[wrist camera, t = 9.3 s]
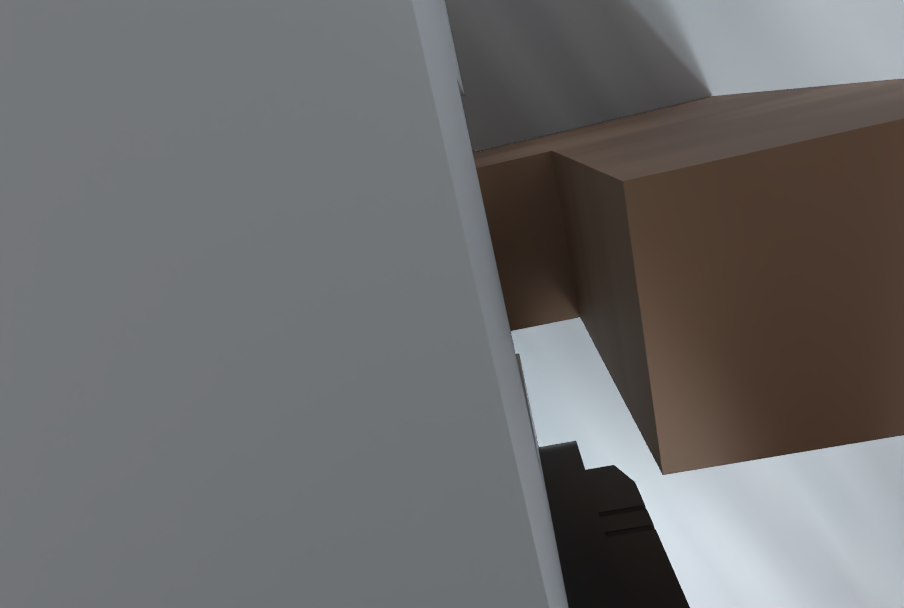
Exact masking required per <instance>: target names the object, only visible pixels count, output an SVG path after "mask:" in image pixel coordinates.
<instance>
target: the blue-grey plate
mask: <svg viewBox="0 0 904 608" xmlns="http://www.w3.org/2000/svg"><path fill="white" fill-rule="evenodd" d="M461 96H464V90H463V85H462V80H461V76H460V71H459V66H458V61H457V57H456V52H455V47H454V42H453V38H452V33H451V28H450V23H449V19H448V14H447V9H446V4H445V0H0V608H569V607H568V602H567V597H566V591H565V586H564V581H563V576H562V571H561V565H560V560H559V555H558V550H557V544H556V539H555V534H554V529H553V523H552V518H551V513H550V508H549V502H548V497H547V492H546V487H545V481H544V476H543V471H542V466H541V460H540V455H539V450H538V447H539V446H538V441H537V436H536V432H535V427H534V422H533V417H532V413H531V408H530V403H529V398H528V394H527V389H526V384H525V379H524V375H523V370H522V365H521V360H520V356H519V354H515V350H514V345H513V340H512V336H511V331H510V326H509V321H508V317H507V312H506V307H505V303H504V298H503V293H502V289H501V284H500V279H499V274H498V270H497V265H496V260H495V256H494V251H493V246H492V242H491V237H490V232H489V228H488V223H487V218H486V213H485V209H484V204H483V199H482V195H481V190H480V185H479V181H478V176H477V171H476V166H475V162H474V157H473V152H472V148H471V143H470V138H469V134H468V129H467V124H466V119H465V115H464V110H463V105H462V101H461Z"/></svg>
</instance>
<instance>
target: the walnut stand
mask: <svg viewBox="0 0 904 608" xmlns="http://www.w3.org/2000/svg"><path fill="white" fill-rule="evenodd" d="M473 157H474V162H475V166H476V171H477V176H478V181H479V185H480V190H481V195H482V199H483V204H484V209H485V213H486V218H487V223H488V228H489V232H490V237H491V242H492V246H493V251H494V256H495V260H496V265H497V270H498V274H499V279H500V284H501V289H502V293H503V298H504V303H505V307H506V312H507V317H508V321H509V326H510V331H513V330H518V329H523V328H528V327H533V326H538V325H543V324H548V323H553V322H558V321H563V320H568V319H573V318H578V317H580V318H581V319H582V321H583V323H584V325H585V327H586V329H587V331H588V333H589V335H590V337H591V339H592V341H593V342H594V344H595V346H596V348H597V350H598V352H599V354H600V356H601V358H602V360H603V362H604V363H605V365H606V367H607V369H608V371H609V373H610V375H611V377H612V379H613V381H614V383H615V384H616V386H617V388H618V390H619V392H620V394H621V396H622V398H623V400H624V402H625V404H626V405H627V407H628V409H629V411H630V413H631V415H632V417H633V419H634V421H635V423H636V425H637V427H638V428H639V430H640V432H641V434H642V436H643V438H644V440H645V442H646V444H647V446H648V448H649V449H650V451H651V453H652V455H653V457H654V459H655V461H656V463H657V465H658V467H659V469H660V470H661V472H662V474H663V475H666V474H672V473H678V472H684V471H690V470H696V469H702V468H708V467H714V466H720V465H726V464H732V463H738V462H744V461H750V460H756V459H762V458H768V457H774V456H780V455H786V454H792V453H798V452H804V451H810V450H816V449H822V448H828V447H834V446H840V445H846V444H852V443H858V442H864V441H870V440H876V439H882V438H889V437H895V436H901V435H904V79H894V80H884V81H873V82H862V83H851V84H840V85H829V86H819V87H808V88H797V89H786V90H775V91H764V92H754V93H743V94H732V95H721V96H712V97H708V98H704V99H700V100H695V101H691V102H687V103H683V104H678V105H674V106H670V107H666V108H661V109H657V110H653V111H649V112H644V113H640V114H636V115H632V116H627V117H623V118H619V119H615V120H610V121H606V122H602V123H598V124H593V125H589V126H585V127H581V128H576V129H572V130H568V131H563V132H559V133H555V134H551V135H546V136H542V137H538V138H534V139H529V140H525V141H521V142H517V143H512V144H508V145H504V146H500V147H495V148H491V149H487V150H483V151H478V152H474V153H473Z"/></svg>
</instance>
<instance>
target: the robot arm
mask: <svg viewBox="0 0 904 608" xmlns="http://www.w3.org/2000/svg"><path fill="white" fill-rule="evenodd" d="M538 450H539V455H540V460H541V466H542V471H543V476H544V481H545V487H546V492H547V497H548V502H549V508H550V513H551V518H552V523H553V529H554V534H555V539H556V544H557V550H558V555H559V560H560V565H561V571H562V576H563V581H564V586H565V591H566V597H567V602H568V607H569V608H690V607H689V605H688V602H687V600H686V598H685V595H684V593H683V591H682V589H681V586H680V584H679V582H678V579H677V577H676V575H675V573H674V570H673V568H672V566H671V564H670V561H669V559H668V557H667V554H666V552H665V550H664V548H663V545H662V543H661V541H660V538H659V536H658V534H657V532H656V530H655V529H654V525H653V522H652V520H651V518H650V516H649V513H648V511H647V510H646V508H645V504H644V502H643V500H642V497H641V495H640V493H639V490H638V488H637V486H636V484H635V482H634V481H633V480H632V479H630V478H629V477H628V476H627V475H626V474H624V473H623V472H622V471H621V470H619V469H618V468H617V467H616V466H614V465H611V466H605V467H600V468H594V469H588V470H585V468H584V465H583V461H582V458H581V455H580V452H579V449H578V445H577V443H576V441H572V442H566V443H561V444H555V445H549V446H544V447H538Z"/></svg>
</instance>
